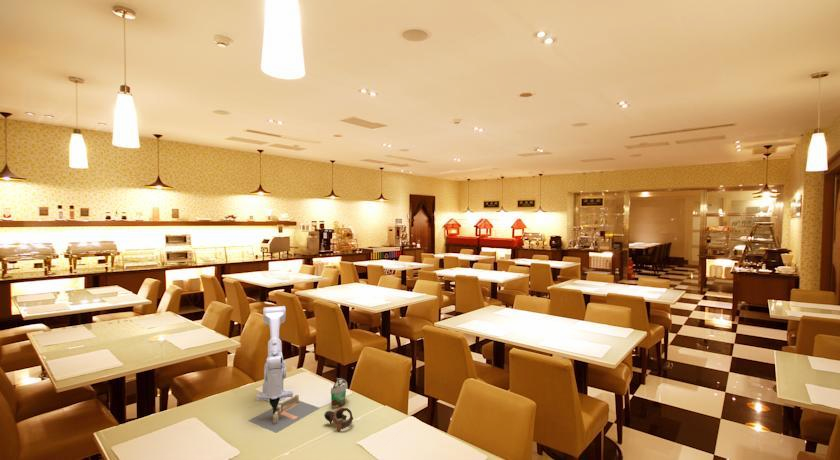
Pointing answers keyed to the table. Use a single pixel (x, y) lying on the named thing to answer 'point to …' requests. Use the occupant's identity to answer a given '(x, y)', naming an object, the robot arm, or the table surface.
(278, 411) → the bar
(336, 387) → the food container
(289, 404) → the fixed fence section
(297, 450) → the table surface
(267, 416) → the mat
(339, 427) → the pottery mug
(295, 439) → the table surface
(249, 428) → the table surface
